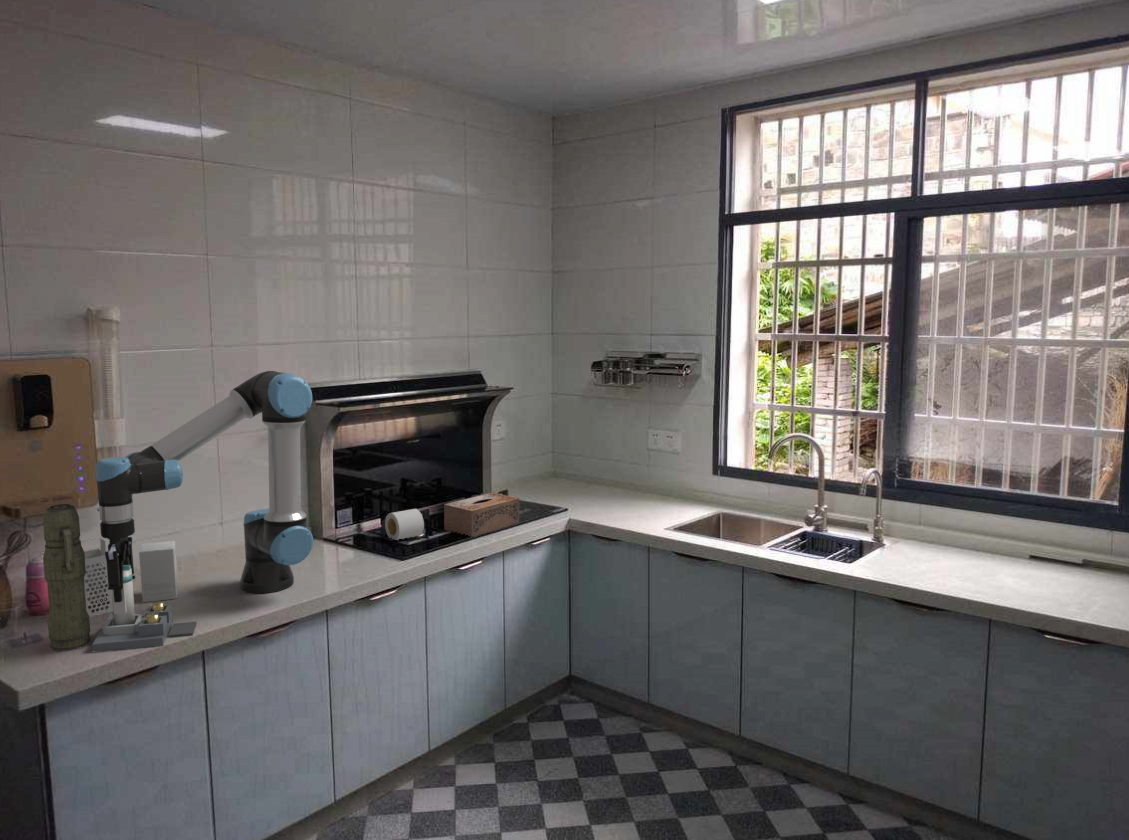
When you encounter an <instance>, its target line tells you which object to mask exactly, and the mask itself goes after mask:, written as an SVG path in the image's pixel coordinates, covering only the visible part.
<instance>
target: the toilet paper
mask: <svg viewBox="0 0 1129 840" xmlns="http://www.w3.org/2000/svg"><path fill="white" fill-rule="evenodd" d="M384 525H385V526H384V529H385V531H386V535H387V537H388V538H389V539H390V538H392V539H395V540H397V541H400V540H399V539H402V540H406V539H405V538H407V539H411V538H410V537H412V538H416V537H415V536H417V537H420V536H422V535H423V533H424V528H425V521H424V518H423V515H422V513H421V512H420V510H418V509H417V508H411V509H405V510H401V511H400V510H399V511H395V512H394V511H393V512H389V513H387V515H386V517H385V520H384Z"/></svg>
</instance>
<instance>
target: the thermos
mask: <svg viewBox="0 0 1129 840" xmlns="http://www.w3.org/2000/svg"><path fill="white" fill-rule="evenodd" d="M42 523H43V524H42V526H43V538H44V541H45V544H44V553H43V557H42V562H43V563H42V564H43V574H44V580H45V582H46V584H47V585H46V586H47V596H48V597H47V598H48V608H49V617H48V620H47V629H48V631H47V632H48V639H49V640H50V642H49V643H50V649H51V650H52V651H57V652H67V651H68V652H69V651H72V650H73V649H74V650H77V648H78V649H80V647H81V648H83V647H86V646H87V645H89V644H90V643H91V636H90V635H91V623H90V622H91V621H90V619H91V617H89V615H88V613H87V611H86V598H85V584H84V576H85V574H86V568H85V554H84V552H85V550H84V547H83V546H82V542H81V541H80V539H81V538H80V537H81V529H80V527H81V526H80V515H79V513H78V511H77V509H76V506H74V505H72V504H67V503H61V504H54V505H50V506H49V507H46V509H45V511H44V514H43V518H42ZM85 645H86V646H85Z"/></svg>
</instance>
